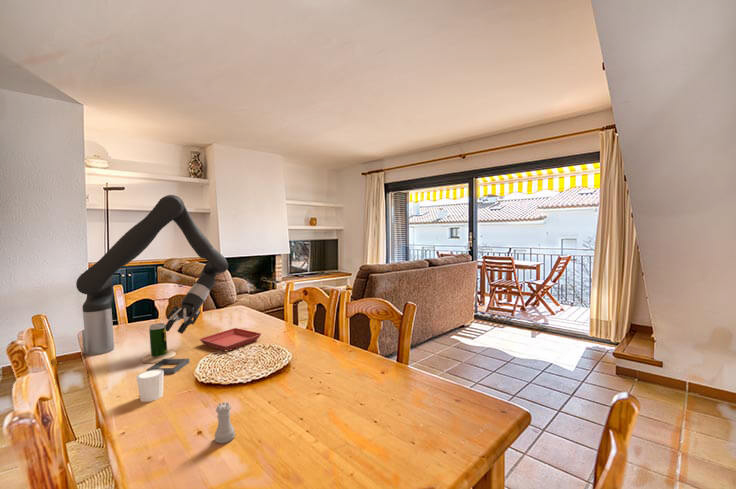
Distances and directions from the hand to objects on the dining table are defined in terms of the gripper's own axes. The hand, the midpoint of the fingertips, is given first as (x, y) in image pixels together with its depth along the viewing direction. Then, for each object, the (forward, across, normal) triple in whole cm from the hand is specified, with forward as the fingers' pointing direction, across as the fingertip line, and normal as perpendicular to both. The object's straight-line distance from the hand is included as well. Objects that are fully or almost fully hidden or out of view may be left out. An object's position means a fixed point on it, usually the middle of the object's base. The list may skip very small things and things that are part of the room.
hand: (172, 331), depth 139 cm
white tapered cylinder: (+25, +29, -13) cm, 40 cm away
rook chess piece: (+30, +65, -17) cm, 73 cm away
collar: (+14, +13, -2) cm, 19 cm away
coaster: (+10, 0, +2) cm, 10 cm away
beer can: (+10, 0, +2) cm, 10 cm away
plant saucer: (-6, +12, +19) cm, 23 cm away
